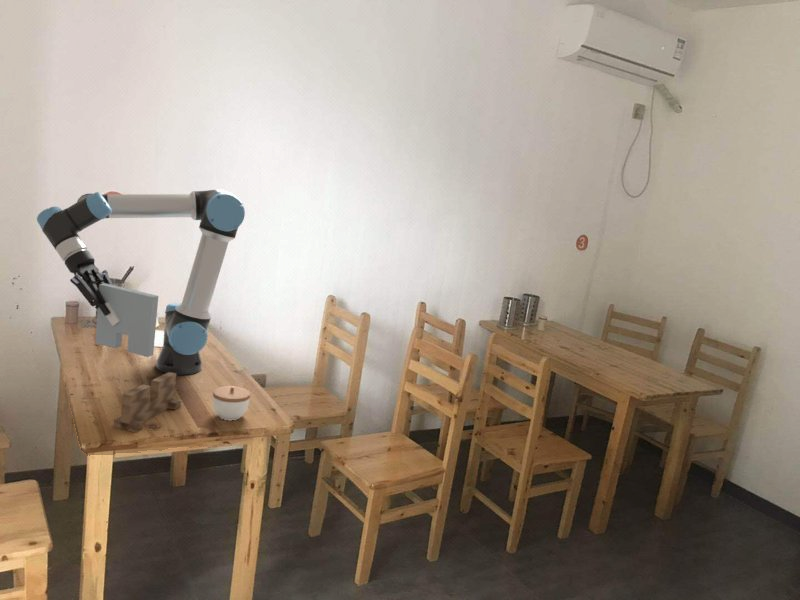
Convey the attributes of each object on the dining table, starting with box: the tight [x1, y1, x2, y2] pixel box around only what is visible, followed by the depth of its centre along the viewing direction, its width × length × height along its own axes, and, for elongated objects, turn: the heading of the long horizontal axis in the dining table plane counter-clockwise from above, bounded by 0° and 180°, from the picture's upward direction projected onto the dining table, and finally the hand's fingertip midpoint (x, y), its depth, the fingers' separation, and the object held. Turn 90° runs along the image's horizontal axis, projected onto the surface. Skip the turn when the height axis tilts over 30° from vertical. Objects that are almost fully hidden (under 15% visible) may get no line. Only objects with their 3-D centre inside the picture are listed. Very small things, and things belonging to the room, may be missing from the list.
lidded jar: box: [212, 385, 251, 422], centre depth 193 cm, size 11×11×9 cm
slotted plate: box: [94, 283, 159, 358], centre depth 190 cm, size 18×2×18 cm, turn 75°
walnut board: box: [112, 372, 182, 433], centre depth 185 cm, size 22×7×10 cm, turn 167°
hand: (120, 322), depth 191 cm, fingers closed on slotted plate, 2 cm apart
